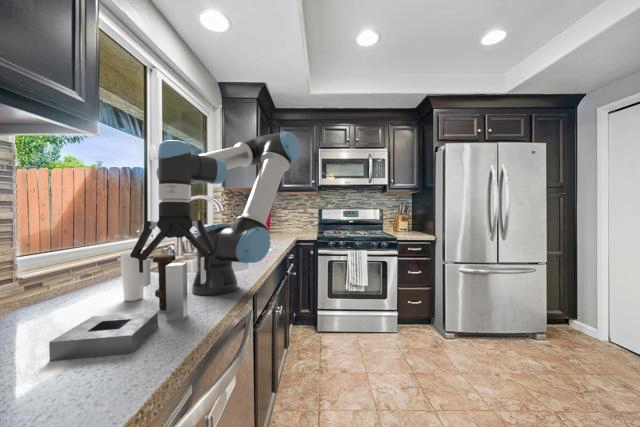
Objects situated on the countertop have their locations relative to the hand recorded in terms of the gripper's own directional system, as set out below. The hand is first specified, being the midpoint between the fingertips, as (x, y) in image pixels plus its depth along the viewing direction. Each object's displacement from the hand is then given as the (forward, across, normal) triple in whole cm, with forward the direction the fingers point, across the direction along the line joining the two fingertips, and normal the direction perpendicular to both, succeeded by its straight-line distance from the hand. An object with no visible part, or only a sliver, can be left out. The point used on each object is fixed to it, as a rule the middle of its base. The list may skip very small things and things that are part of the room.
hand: (175, 284), depth 76 cm
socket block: (+9, -10, -12) cm, 18 cm away
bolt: (+9, -6, +10) cm, 15 cm away
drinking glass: (+9, -19, +22) cm, 31 cm away
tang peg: (+9, 0, 0) cm, 9 cm away
